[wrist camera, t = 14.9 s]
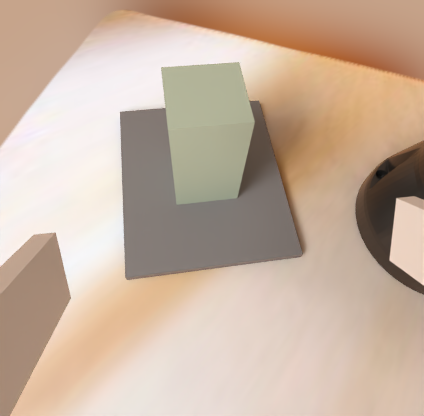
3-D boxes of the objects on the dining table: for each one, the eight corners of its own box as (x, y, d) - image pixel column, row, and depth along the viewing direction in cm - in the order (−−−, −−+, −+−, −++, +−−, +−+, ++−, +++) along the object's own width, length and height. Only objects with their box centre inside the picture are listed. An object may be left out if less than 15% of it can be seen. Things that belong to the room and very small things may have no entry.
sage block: (227, 149, 35) (239, 62, 26) (237, 198, 33) (254, 122, 23) (171, 154, 35) (161, 67, 25) (176, 204, 32) (168, 129, 22)
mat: (257, 105, 39) (259, 100, 39) (300, 256, 31) (302, 254, 30) (121, 116, 38) (120, 111, 37) (127, 279, 29) (125, 277, 29)
